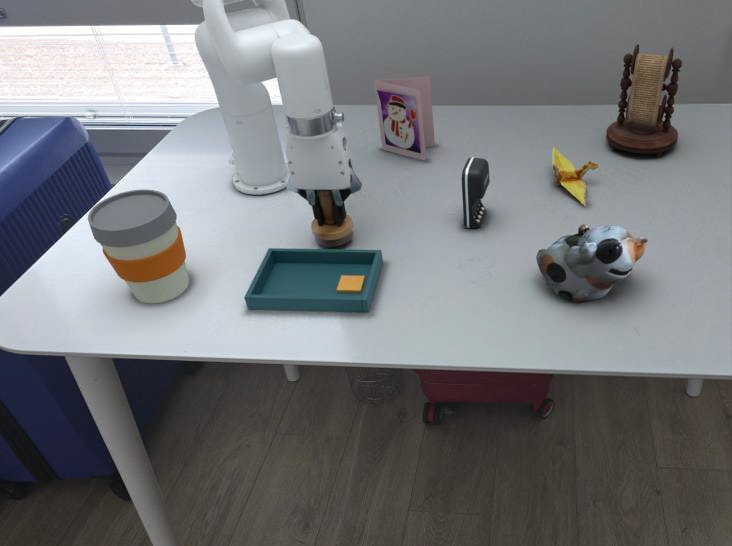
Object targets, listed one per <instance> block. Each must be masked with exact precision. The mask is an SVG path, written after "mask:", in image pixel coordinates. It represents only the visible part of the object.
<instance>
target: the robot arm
mask: <svg viewBox="0 0 732 546" xmlns="http://www.w3.org/2000/svg"><path fill="white" fill-rule="evenodd" d="M190 1H191V2H192V4H193V5H195V6H196V7H198V8H202V10H203V11H202V12H203V18H204V20H202V22H200V23H199V24H198V25H197V27H196V28H195V32H194V42H195V47H196V51H197V52H198V55H199V56H200V59H201V62H202V64H203V65H204V68H205V70H206V72H207V74H208V77H209V80H210V82H211V84H212V87H213V90H214V94H215V97H216V100H217V103H218V107H219V110H220V113H221V116H222V120H223V124H224V127H225V131H226V133H227V137H228V141H229V144H230V148H231V151H232V153H231V154H232V156H229V157H228V158H227V162H228V164H231V165H233V166H234V168H235V174H234V175H233V177H232V183H233V187H234V188H235V189H236V191H238V192H241V193H243V194H246V195H254V196H259V195H267V194H268V195H269V194H273V193H276V192H280V191H281V190H284V189H285V188H286V189H287V191H290V192H292V193H295V194H298V195H299V196H300V197H301V198H303V199H304V200H305V201H306V202H307V204H308V205H309V206H311V210H312V214H313V218H314V219H317V222H318V226H322V225H323V224H324V220H323V215H322V210H321V206H320V201H319V196H318V190H332V192H333V196H334V200H335V201H334V206H333V210H334V215H335V220H336V225H337V226H341V225H342V222H343V220H344V219H346V214H347V210H346V204H345V201H346V200H347V199H348V198H349V197H350V196H351V195H353V194H355V193H357V192H360V191H361V190H362V187H363V183H362V181H361V180H360V178H359V177H358V176H357V174H356V172H355V171H356V170H355V164H354V160H353V156H352V152H351V148H350V145H349V141H348V138H347V135H346V132H345V130H344V127H343V125H342V123H343V122H345V115H344V112H339V111H337V110H336V108H335V107H336V106H335V105H334V103H333V96H332V91H331V85H330V81H329V80H330V79H329V74H328V68H327V63H326V57H325V51H324V48H323V47H324V46H323V44H322V42H321V40H320V39H319V38H318V37H317V36H316V35H314V34H311V33H310V30H309V29H308V28H307V27H306V26H305V25H304V24H303V23H302V22H301V21H299V20H298V19H293V18H291V16H290V14H289V9H288V6H287V3H286V0H251V1H252V3H254V6H253V7H249V8H246V9H245V8H244V9H242V10H236V11H231V12H227V13H226V10H225V6H226V5H229V4H234V3H239V2H242V1H244V0H190ZM274 79H276V80H277V85H278V90H279V94H280V99H281V102H282V108H283V112H284V116H285V120H286V124H287V126H286V128H285V132H284V141H285V154H284V151H283V147H282V141H281V138H280V133H279V129H278V125H277V120H276V116H275V113H274V109H273V104H272V101H271V97H270V93H269V91H268V89H267V87H266V85H264V83H263V82H267V81H270V80H274ZM284 155H286V160H285V156H284Z"/></svg>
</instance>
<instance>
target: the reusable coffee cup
mask: <svg viewBox="0 0 732 546" xmlns="http://www.w3.org/2000/svg"><path fill="white" fill-rule="evenodd" d="M177 217H178V216H177V212H176V211H175V209H174V206H173V205H172V203H171V201H170V199H169V197H168V196H167V195H166V194H165V193H163V192H162V191H160V190H155V189H141V188H140V189H133V190H128V191H123V192H120V193H115V194H113V195H111V196H109V197H107V198H104V199H103V200H101V201H100V202H98V203H96V205H94V206H93V207H92V208H91V210H90V211H89V212H88V215H87V221H88V224H89V227H90V230H91V234H92V236H93V239H94V240H95V241H96V242H97V243H98V244H99V245H100V246H101V247H102V253H103V255H104V257H105V259H106V260H107V262H108V263H109V264H110V265H111V267H112V269H113V271H114V272H115V273H116V275H117V276H118V277H119V278H120V279H122V280H123V281H124V282H125V284H126V285H127V286H128V287H129V290H130V291H131V292H132V294H133V295H134V297H135V299H136V300H138V301H139V302H141V303H144V304H160V303H165V302H168V301H171V300H173V299H176V298H177V297H179V296H181V295H182V294H183V293H184V292H185V291H187V289H188V287H189V284H190V277H189V273H188V269H187V263H186V260H187V259H186V258H187V252H186V246H185V243H184V239H183V235H182V230H181V228H180V227H179V226H178V224H177Z"/></svg>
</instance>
